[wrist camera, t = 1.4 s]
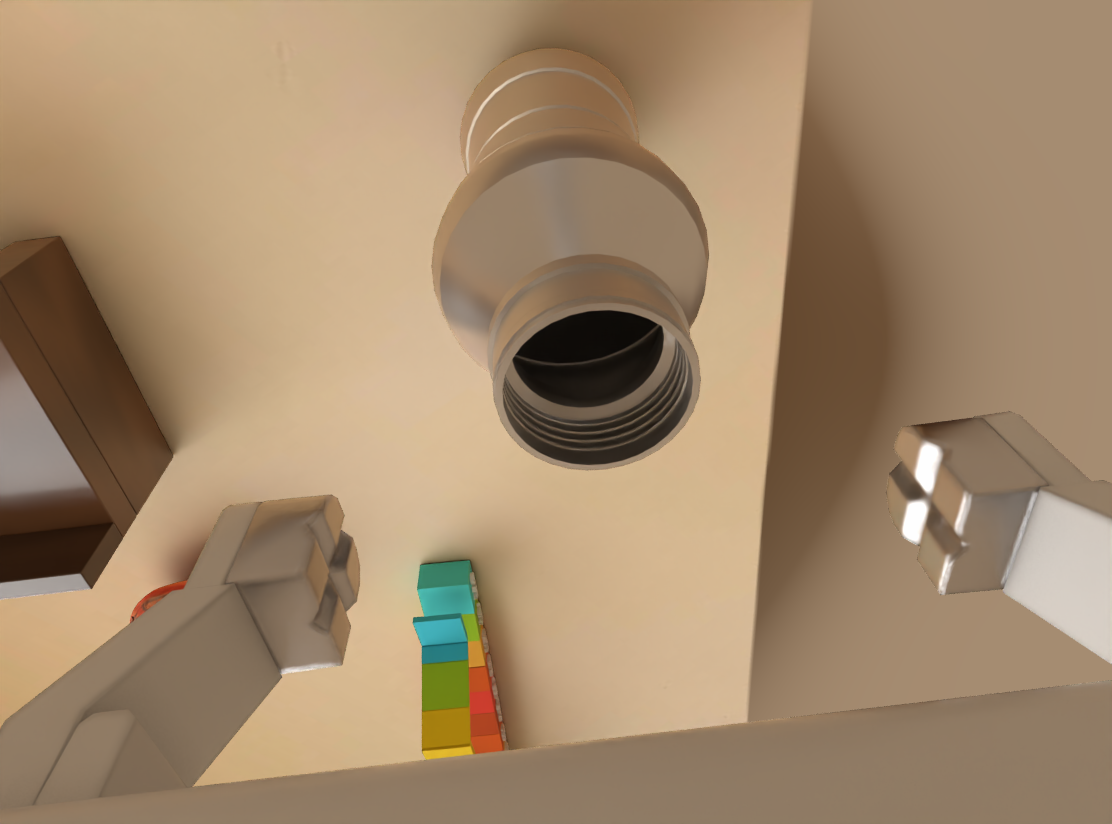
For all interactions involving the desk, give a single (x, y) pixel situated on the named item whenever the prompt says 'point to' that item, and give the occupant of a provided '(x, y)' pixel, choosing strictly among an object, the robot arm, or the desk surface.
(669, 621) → the desk surface
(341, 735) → the desk surface
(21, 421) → the shelf
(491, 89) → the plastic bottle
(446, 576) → the chart
